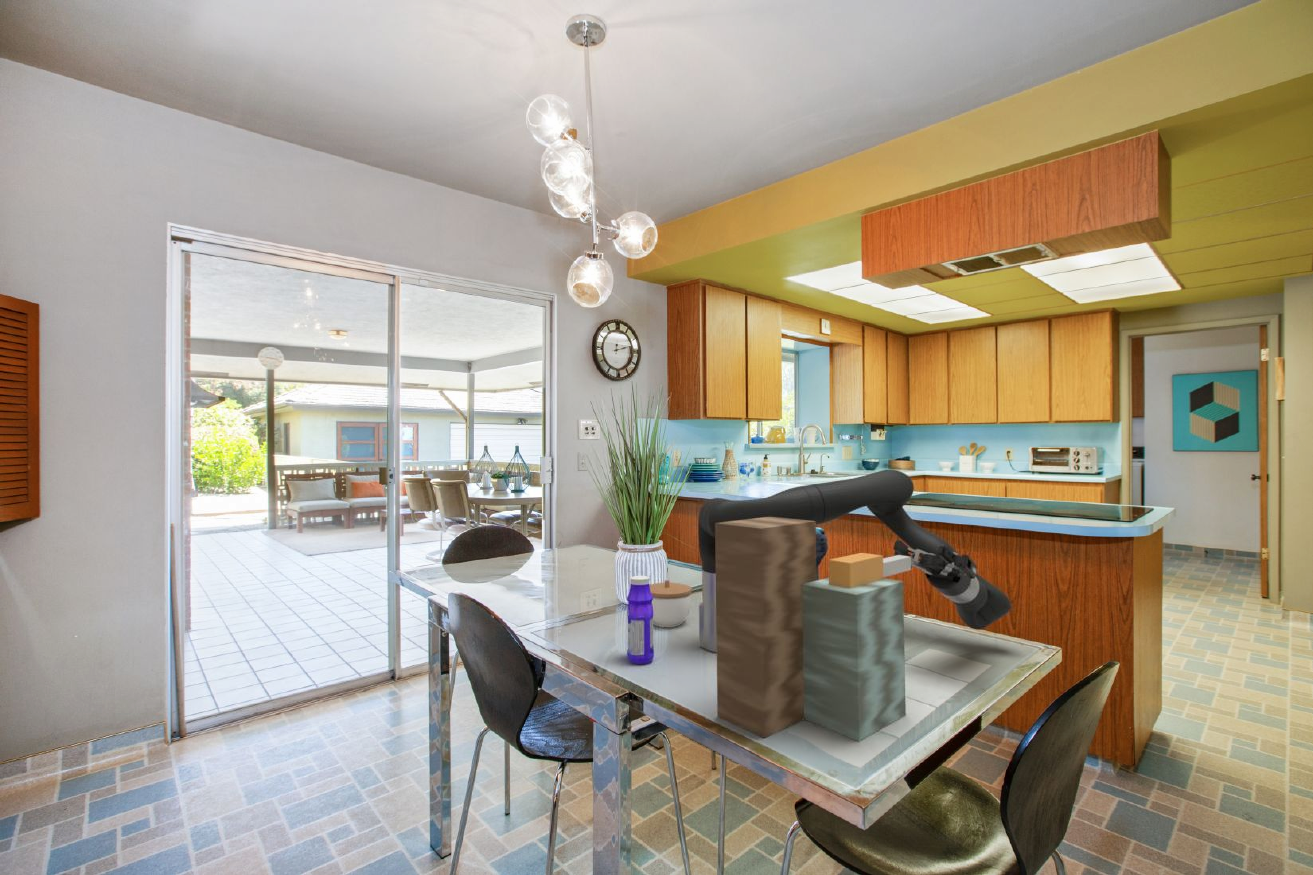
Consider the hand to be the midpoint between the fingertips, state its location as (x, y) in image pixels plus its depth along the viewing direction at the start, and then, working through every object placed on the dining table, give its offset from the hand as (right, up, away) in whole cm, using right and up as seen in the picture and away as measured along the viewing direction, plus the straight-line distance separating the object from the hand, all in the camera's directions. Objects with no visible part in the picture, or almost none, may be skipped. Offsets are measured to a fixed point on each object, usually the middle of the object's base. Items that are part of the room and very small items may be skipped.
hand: (918, 546), depth 113 cm
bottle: (-53, -27, +13) cm, 61 cm away
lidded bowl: (-47, -27, +40) cm, 67 cm away
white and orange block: (-12, -3, -10) cm, 17 cm away
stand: (-24, -25, -14) cm, 38 cm away
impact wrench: (-10, -27, +39) cm, 48 cm away
